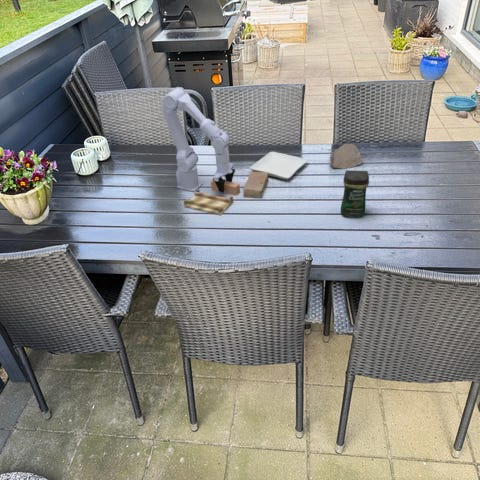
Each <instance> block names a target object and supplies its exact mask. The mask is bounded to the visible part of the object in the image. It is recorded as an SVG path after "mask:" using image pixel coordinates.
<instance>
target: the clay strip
mask: <svg viewBox="0 0 480 480" xmlns="http://www.w3.org/2000/svg"><path fill="white" fill-rule="evenodd" d="M240 188H241V187H240V184H239V183H237V182H234V181H232V182H228V181H226V180H225V184H224V192H223V194H226V195H230V196H236V197H237V196H238V195H239V194H240V193H241V189H240ZM210 189H211V191H215V192H219V190H218V188H217V185H216V184H215V182H214V181H213V179H212V180H211V181H210ZM219 193H220V192H219Z"/></svg>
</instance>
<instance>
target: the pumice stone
mask: <svg viewBox="0 0 480 480" xmlns="http://www.w3.org/2000/svg"><path fill="white" fill-rule="evenodd" d="M363 160H364V159H363V158H362V155H361V152H360V151H359V149H358V147H357V145H355V144H354V143H344V144H343V145H340V146H339V148H335V149H334V151H333V153H332V155H331V158H330V167H332V168H333V169H345V168H346V169H350V168H349V167H351V168H353V167H357V166H358V165H361V164H362V162H363Z"/></svg>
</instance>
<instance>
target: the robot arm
mask: <svg viewBox="0 0 480 480" xmlns="http://www.w3.org/2000/svg"><path fill="white" fill-rule="evenodd" d="M161 104H162V114H163V117H164V120H165V122H166V124H167V128H168V130H169V133H170V136H171V137H172V140H173V142H174V145H175V148H176V155H175V156H176V157H175V159H176V165H177V169H176V172H175V173H176V174H175V175H176V182H177V186H176V188H177V189H181V190H185V191H189V192H196V190H197V189H199V188H200V187H201V186H202V185H203V182H200V180H199V175H198V166H197V163H198V162H199V156H198V154H197V153H196V152H195V150H194V148H193V147H192V146H190V145H189V142H188V140H187V137H186V134H185V132H184V129H183V127H182V124H181V122H180V121H181V120H180V119H179V116H178V112H179V111H181V112H182V111H185V112H186V113H187V114H189V116H191V117H192V119H194V120H195V121H196V122H197V123H198V124H199V127H200V128H199V129H200V130H201V131H202V132H203V134H205V136H206V137H207V138H208V139H210V141H211V146H212V147H213V149H214V153H215V162H216V164H215V165H216V171H215V174H214V176H213V178H212V180H213V181H214V182H215V184H216V185H217V188H218V190H219V193H223V192H224V184H225V181H228V182H233V180H234V179H233V178H234V174H235V173H236V169H235V168H234V162H230V153H229V152H230V151H229V143H230V136H229V134H228V132H226V131H225V130H222V129H220V128H219V126H217V125H216V124H215V121H214V120H211V119H210V118H206V117H205V116H204V114H203V113H202V112H201V111H200V109H199V108H198V107H197V106H196V105H195V103H194V102H193V100H192V99H191V96H190V93H189V94H188V92H186V89H184V88H183V87H181V86H180V87H179V86H176V87H175V88H174V89H173V90H171V91H169V92H168V93H166V94H165V95H164V96H163V97H162V99H161ZM223 176H224V178H225V179H224V178H223ZM223 194H224V193H223Z"/></svg>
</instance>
